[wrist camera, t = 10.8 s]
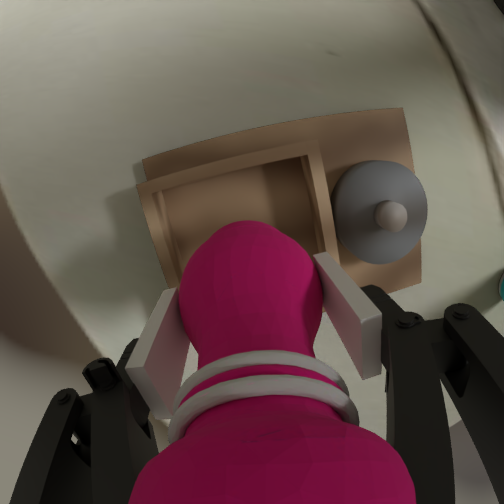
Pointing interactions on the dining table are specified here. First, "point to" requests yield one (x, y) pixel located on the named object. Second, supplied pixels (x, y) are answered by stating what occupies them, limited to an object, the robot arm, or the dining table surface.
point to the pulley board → (297, 193)
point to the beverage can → (501, 287)
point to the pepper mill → (263, 390)
